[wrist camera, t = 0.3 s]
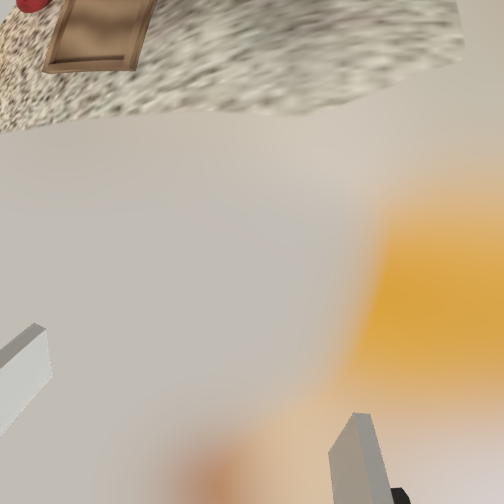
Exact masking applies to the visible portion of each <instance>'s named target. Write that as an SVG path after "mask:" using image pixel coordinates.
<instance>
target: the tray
mask: <svg viewBox="0 0 504 504" xmlns="http://www.w3.org/2000/svg"><path fill="white" fill-rule="evenodd" d="M156 2H157V0H65V2H64V5H63V8H62V10H61V13H60V15H59V18H58V21H57V24H56V27H55V29H54V32H53V35H52V38H51V42H50V45H49V48H48V51H47V55H46V58H45V62H44V66H43V69H42V72H45V73H48V74H55V73H69V72H87V71H135V70H136V66H137V63H138V59H139V55H140V52H141V48H142V45H143V41H144V38H145V35H146V32H147V28H148V25H149V22H150V19H151V16H152V13H153V10H154V7H155V4H156Z"/></svg>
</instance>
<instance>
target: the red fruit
mask: <svg viewBox="0 0 504 504" xmlns="http://www.w3.org/2000/svg"><path fill="white" fill-rule="evenodd" d="M48 2H49V0H16V3H17V7H18V8H19V9H20V10H21V11H22V12H24V13H33V12H36V11H39V10H41V9H42V8H44V7H45V6H46V5H47V3H48Z"/></svg>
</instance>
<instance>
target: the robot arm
mask: <svg viewBox="0 0 504 504" xmlns="http://www.w3.org/2000/svg"><path fill="white" fill-rule="evenodd" d="M52 377H53V371H52V366H51V359H50V353H49V347H48V339H47V333H46V329H45V328H43V327H41V326H39V325H37V324H35V323H33V324H32V325H31V326H29V327H28V328H27V329H25V330H24V331H23V332H22V333H20V334H19V335H18V336H17V337H16V338H14V339H13V340H12V341H11V342H9V343H8V344H7V345H6V346H5V347H3V348H2V349H1V350H0V437H1V435H2V434H3V433H4V432H5V431H6V429H7V428H8V427H9V426H10V425H11V423H12V422H13V421H14V420H15V419H16V418H17V416H18V415H19V414H20V413H21V412H22V411H23V409H24V408H25V407H26V406H27V404H28V403H29V402H30V401H31V400H32V399H33V398H34V397H35V396H36V395H37V393H38V392H39V391H40V390H41V389H42V388H43V387H44V386H45V384H46V383H47V382H48V381H49V380H50V379H51V378H52ZM328 453H329V462H330V470H331V480H332V489H333V499H334V504H411V503H410V500H409V497H408V496H407V494H406V493H405V492H404V490H403V489H402V488H390V486H389V481H388V477H387V474H386V470H385V466H384V462H383V459H382V455H381V451H380V448H379V444H378V440H377V437H376V433H375V430H374V426H373V423H372V419H371V416H370V414H362V413H353V414H352V416H351V418H350V419H349V421H348V423H347V424H346V426H345V428H344V429H343V431H342V432H341V434H340V435H339V437H338V438H337V440H336V442H335V443H334V445H333V446H332V448H331V449H330V451H329V452H328Z"/></svg>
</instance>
